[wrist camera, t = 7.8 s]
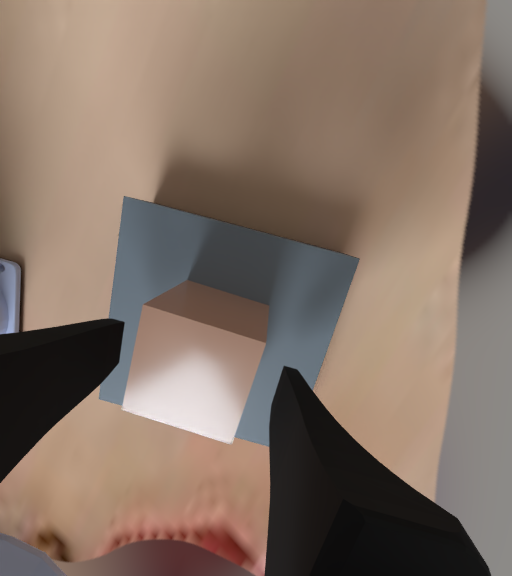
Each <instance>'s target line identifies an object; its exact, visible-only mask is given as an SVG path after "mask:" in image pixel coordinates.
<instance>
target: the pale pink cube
mask: <svg viewBox="0 0 512 576" xmlns="http://www.w3.org/2000/svg"><path fill="white" fill-rule="evenodd" d="M268 315H269V305H266V304H262V303H259V302H256V301H253V300H250V299H247V298H243V297H240V296H237V295H234V294H231V293H227V292H224V291H221V290H218V289H215V288H212V287H208V286H205V285H202V284H199V283H196V282H192V281H189V280H186V281H184V282H182V283H181V284H179V285H177V286H175V287H173V288H172V289H170V290H168V291H166V292H164V293H162V294H161V295H159V296H157V297H155V298H153V299H152V300H150V301H148V302H146V303H144V304H143V306H142V311H141V316H140V321H139V326H138V331H137V336H136V341H135V346H134V351H133V356H132V361H131V366H130V371H129V376H128V381H127V386H126V391H125V395H124V400H123V405H122V410H124V411H127V412H131V413H134V414H137V415H140V416H143V417H146V418H150V419H153V420H156V421H159V422H162V423H165V424H168V425H172V426H175V427H178V428H181V429H184V430H187V431H190V432H194V433H197V434H200V435H203V436H206V437H209V438H213V439H216V440H219V441H222V442H225V443H228V444H231V445H232V442H233V439H234V436H235V433H236V430H237V427H238V424H239V422H240V419H241V416H242V413H243V410H244V407H245V404H246V401H247V398H248V395H249V392H250V389H251V386H252V383H253V381H254V378H255V375H256V372H257V369H258V366H259V363H260V360H261V357H262V354H263V351H264V348H265V345H266V340H267V328H268Z"/></svg>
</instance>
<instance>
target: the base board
mask: <svg viewBox="0 0 512 576" xmlns="http://www.w3.org/2000/svg"><path fill="white" fill-rule="evenodd" d="M358 262H359V258H356V257H353V256H350V255H347V254H344V253H340V252H336V251H332V250H329V249H325V248H321V247H317V246H314V245H310V244H306V243H302V242H299V241H295V240H291V239H287V238H284V237H280V236H276V235H272V234H269V233H265V232H261V231H257V230H253V229H250V228H246V227H242V226H238V225H235V224H231V223H227V222H223V221H220V220H216V219H212V218H208V217H205V216H201V215H197V214H193V213H190V212H186V211H182V210H178V209H175V208H171V207H167V206H163V205H160V204H156V203H152V202H148V201H143V200H139V199H134V198H130V197H126V196H124V199H123V207H122V215H121V223H120V231H119V239H118V248H117V256H116V264H115V272H114V280H113V288H112V296H111V304H110V312H109V319H110V318H112V319H116V320H119V321H123V322H125V325H124V332H123V339H122V346H121V353H120V360H119V364H118V365H117V366H116V367H115V368H114V370H113V371H112V372H111V373H110V374H109V376H108V377H107V378H106V379H105V380H104V381H103V382H102V383H101V385H100V393H99V399H100V400H104V401H108V402H111V403H115V404H118V405H123V400H124V395H125V391H126V386H127V381H128V376H129V371H130V366H131V361H132V356H133V351H134V346H135V341H136V336H137V331H138V326H139V321H140V316H141V311H142V306H143V304H144V303H146V302H148V301H150V300H152V299H153V298H155V297H157V296H159V295H161V294H162V293H164V292H166V291H168V290H170V289H172V288H173V287H175V286H177V285H179V284H181V283H182V282H184V281H186V280H189V281H192V282H196V283H199V284H202V285H205V286H208V287H212V288H215V289H218V290H221V291H224V292H227V293H231V294H234V295H237V296H240V297H243V298H247V299H250V300H253V301H256V302H259V303H262V304H266V305H269V315H268V328H267V340H266V345H265V348H264V351H263V354H262V357H261V360H260V363H259V366H258V369H257V372H256V375H255V378H254V381H253V383H252V386H251V389H250V392H249V395H248V398H247V401H246V404H245V407H244V410H243V413H242V416H241V419H240V422H239V424H238V427H237V430H236V433H235V436H234V437H236V438H240V439H244V440H247V441H251V442H254V443H258V444H261V445H265V446H269V422H270V412H271V404H272V401H273V398H274V395H275V392H276V388H277V385H278V382H279V379H280V376H281V373H282V369H283V366H287V367H291V368H294V369H298V371H299V372H300V373H301V375H302V376H303V378H304V379H305V381H306V382H307V383H308V385H309V386H310V388H311V389H312V391H313V388H314V385H315V382H316V379H317V377H318V374H319V371H320V368H321V366H322V363H323V360H324V357H325V354H326V352H327V349H328V346H329V343H330V340H331V338H332V335H333V332H334V329H335V326H336V324H337V321H338V318H339V315H340V312H341V310H342V307H343V304H344V301H345V299H346V296H347V293H348V290H349V287H350V285H351V282H352V279H353V276H354V273H355V271H356V268H357V265H358Z"/></svg>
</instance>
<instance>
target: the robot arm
mask: <svg viewBox="0 0 512 576" xmlns="http://www.w3.org/2000/svg"><path fill="white" fill-rule="evenodd" d="M4 267H5V269H4ZM20 283H21V268H20V266H19V265H18V264H17V263H15V262H12V261H9V260H5V259H1V258H0V483H1V482H2V480H3V479H4V478H5V477H6V476H7V475H8V474H9V473H10V472H11V470H12V469H13V468H14V467H15V466H16V465H17V464H18V463H19V462H20V460H21V459H22V458H23V457H24V456H25V455H26V454H27V453H28V452H29V451H30V450H31V449H32V448H33V447H34V446H35V444H36V443H37V442H38V441H39V440H40V439H41V438H42V437H43V436H44V435H45V434H46V433H47V432H48V431H49V430H50V429H51V428H52V427H53V426H54V425H55V424H56V423H58V422H59V421H60V420H61V419H62V418H63V417H64V416H65V415H66V414H68V413H69V412H70V411H71V410H72V409H73V408H74V407H75V406H77V405H78V404H79V403H80V402H81V401H82V400H83V399H84V398H86V397H87V396H88V395H89V394H90V393H91V392H92V391H93V390H94V389H96V388H97V387H98V386H99V385H100V384H101V383H102V382H103V381H104V380H105V379H106V378H107V377H108V376H109V374H110V373H111V372H112V371H113V370H114V368H115V367H116V366H117V365H118V364H119V360H120V353H121V346H122V339H123V332H124V325H125V322H123V321H119V320H116V319H112V318H110V319H100V320H93V321H87V322H81V323H76V324H70V325H64V326H58V327H52V328H45V329H39V330H32V331H25V332H19V314H20ZM269 450H270V509H269V525H268V539H267V552H266V565H265V576H491V574H490V571H489V568H488V566H487V564H486V562H485V561H484V559H483V558H482V556H481V555H480V553H479V552H478V550H477V548H476V547H475V545H474V543H473V542H472V540H471V539H470V537H469V536H468V534H467V533H466V531H465V529H464V528H463V526H462V524H461V523H460V521H459V520H458V519H457V518H456V517H455V516H453V515H452V514H450V513H449V512H447V511H446V510H444V509H443V508H441V507H440V506H438V505H437V504H435V503H434V502H432V501H431V500H430V499H428V498H427V497H425V496H424V495H422V494H421V493H419V492H418V491H416V490H415V489H414V488H412V487H411V486H410V485H408V484H407V483H406V482H404V481H403V480H402V479H400V478H399V477H398V476H396V475H395V474H394V473H392V472H391V471H390V470H389V469H388V468H386V467H385V466H384V465H383V464H381V463H380V462H379V461H378V460H377V459H375V458H374V457H373V456H372V455H371V454H370V453H369V452H368V451H366V450H365V449H364V448H363V447H362V446H361V445H360V444H359V443H358V442H357V441H356V440H355V439H353V437H352V436H351V435H350V434H349V433H348V432H347V431H346V430H345V429H344V428H343V427H342V426H341V425H340V424H339V423H338V422H337V421H336V420H335V418H334V417H333V416H332V415H331V414H330V413H329V411H328V410H327V409H326V408H325V406H324V405H323V404H322V403H321V401H320V400H319V399H318V397H317V396H316V395H315V393H314V392H313V391H312V389H311V388H310V386H309V385H308V383H307V382H306V381H305V379H304V378H303V376H302V375H301V373H300V372H299V371H298V369H294V368H291V367H287V366H283V369H282V373H281V376H280V379H279V382H278V385H277V388H276V392H275V395H274V398H273V401H272V404H271V412H270V422H269ZM0 576H66V574H65V573H64V572H63V571H62V570H61V569H60V568H59V567H58V566H57V565H56V564H55V563H54V561H53V560H52V559H51V558H50V557H49V556H48V555H47V554H46V553H45V552H43V551H41V550H39V549H37V548H35V547H33V546H31V545H29V544H27V543H25V542H23V541H21V540H19V539H17V538H15V537H12V536H9V535H6V534H2V533H0Z"/></svg>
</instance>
